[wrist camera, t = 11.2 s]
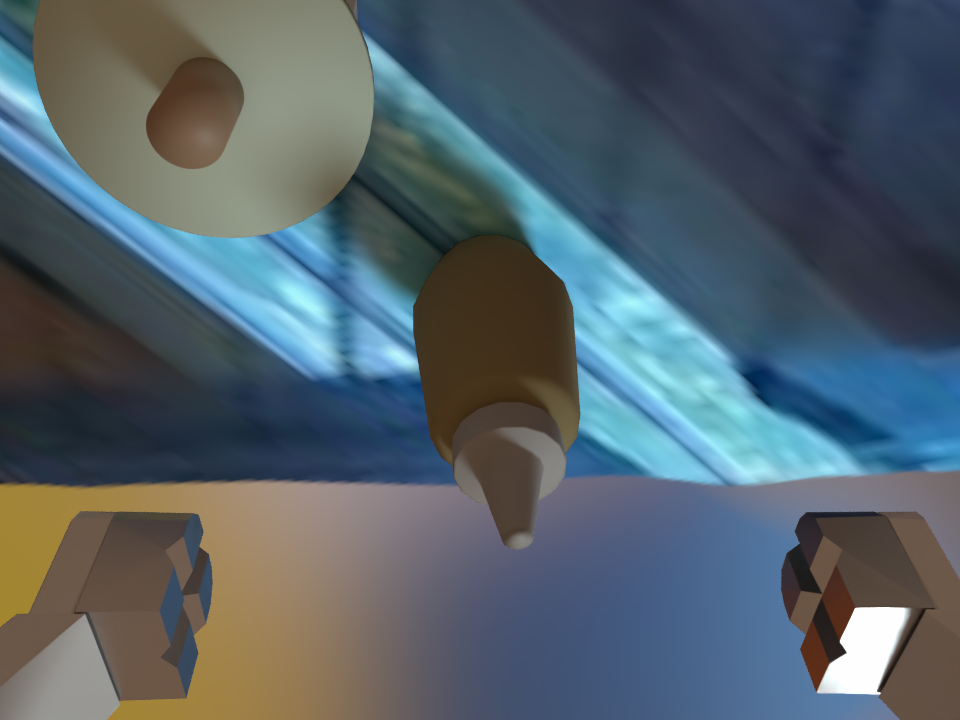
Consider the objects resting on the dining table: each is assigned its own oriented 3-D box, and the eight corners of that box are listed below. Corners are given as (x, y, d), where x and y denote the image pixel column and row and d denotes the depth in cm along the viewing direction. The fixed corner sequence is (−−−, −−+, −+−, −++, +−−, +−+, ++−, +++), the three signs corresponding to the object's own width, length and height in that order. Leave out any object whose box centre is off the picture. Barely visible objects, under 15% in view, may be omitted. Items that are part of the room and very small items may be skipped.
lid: (367, -89, 32) (360, -59, 28) (379, 230, 40) (375, 287, 36) (-3, -100, 31) (-63, -71, 27) (83, 227, 39) (46, 286, 35)
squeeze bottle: (397, 227, 45) (387, 478, 30) (555, 200, 44) (620, 442, 30) (428, 352, 50) (431, 619, 35) (570, 329, 49) (631, 591, 35)
